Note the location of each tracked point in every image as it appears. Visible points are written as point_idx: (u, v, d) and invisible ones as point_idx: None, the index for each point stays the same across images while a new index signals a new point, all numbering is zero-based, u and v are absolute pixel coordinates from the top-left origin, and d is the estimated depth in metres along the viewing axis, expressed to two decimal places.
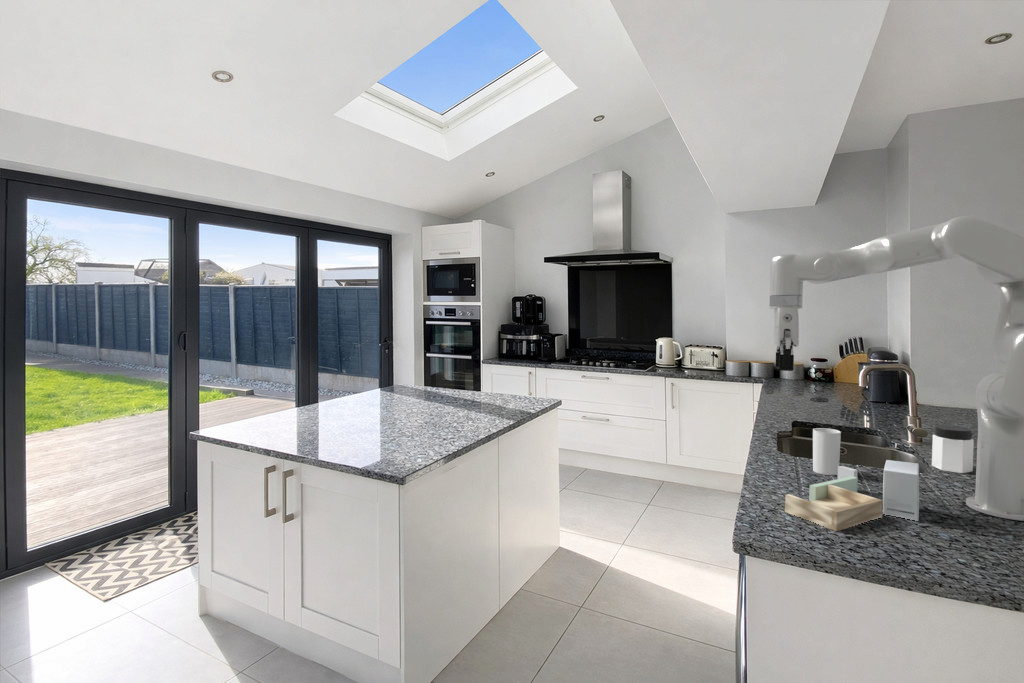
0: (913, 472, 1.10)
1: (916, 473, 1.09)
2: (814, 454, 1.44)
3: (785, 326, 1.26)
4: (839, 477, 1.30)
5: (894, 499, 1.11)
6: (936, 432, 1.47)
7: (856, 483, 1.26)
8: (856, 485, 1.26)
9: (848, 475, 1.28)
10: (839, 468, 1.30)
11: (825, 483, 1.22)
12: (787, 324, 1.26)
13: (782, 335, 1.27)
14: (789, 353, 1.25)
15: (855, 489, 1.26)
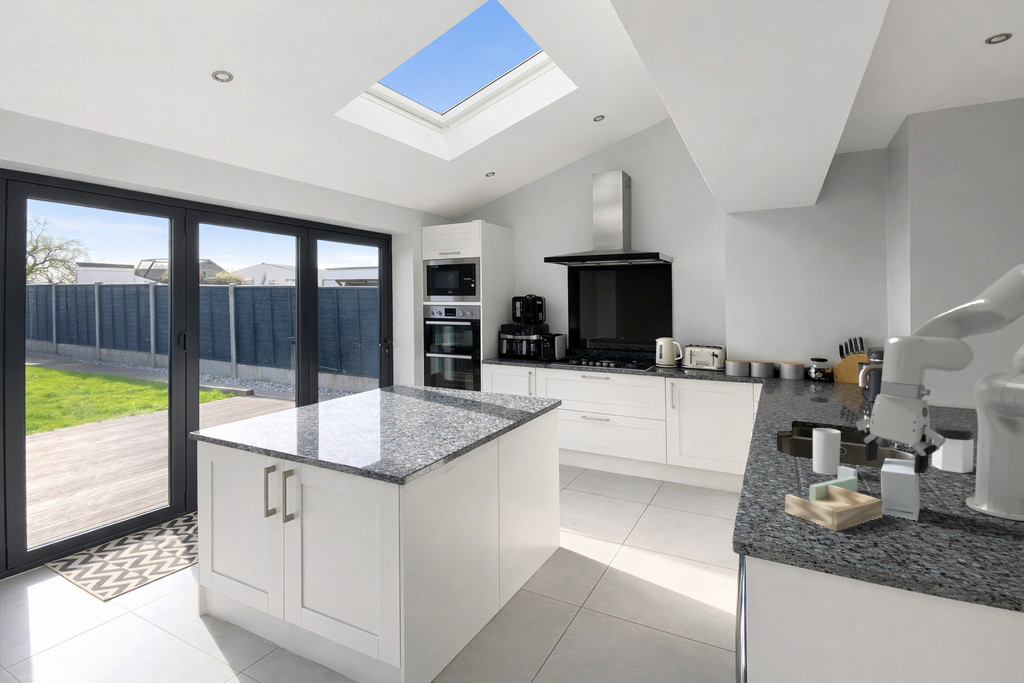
0: (910, 472, 1.09)
1: (913, 473, 1.09)
2: (814, 454, 1.44)
3: (923, 422, 1.09)
4: (839, 477, 1.30)
5: (893, 499, 1.11)
6: (936, 432, 1.47)
7: (856, 483, 1.26)
8: (856, 485, 1.26)
9: (848, 475, 1.28)
10: (839, 468, 1.30)
11: (825, 483, 1.22)
12: (925, 419, 1.09)
13: (921, 432, 1.09)
14: (930, 454, 1.08)
15: (855, 489, 1.26)
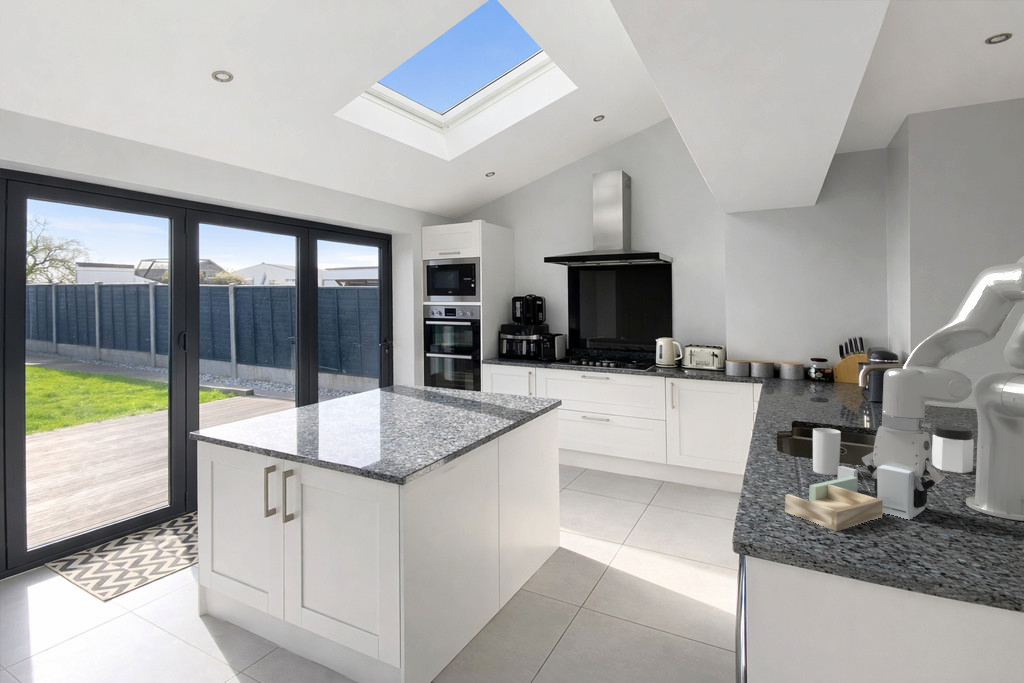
0: (906, 471, 1.10)
1: (908, 472, 1.10)
2: (814, 454, 1.44)
3: (926, 455, 1.09)
4: (839, 477, 1.30)
5: (887, 496, 1.12)
6: (936, 432, 1.47)
7: (856, 483, 1.26)
8: (856, 485, 1.26)
9: (848, 475, 1.28)
10: (839, 468, 1.30)
11: (825, 483, 1.22)
12: (927, 452, 1.09)
13: (924, 466, 1.09)
14: None
15: (855, 489, 1.26)
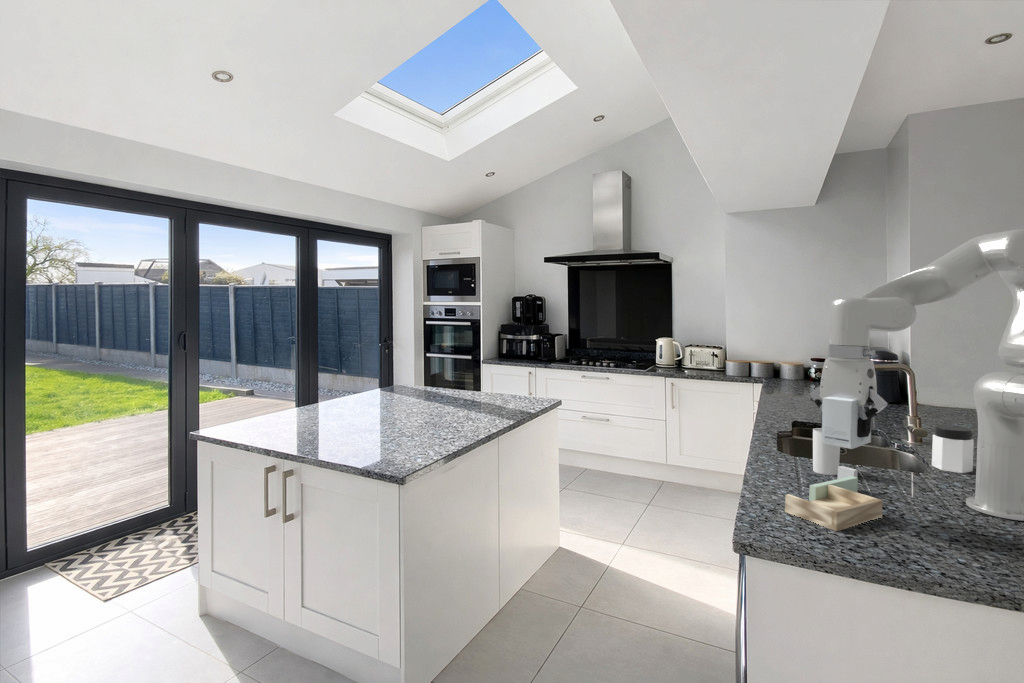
0: (850, 399, 1.08)
1: (852, 400, 1.08)
2: (814, 454, 1.44)
3: (869, 383, 1.07)
4: (839, 477, 1.30)
5: (831, 426, 1.10)
6: (936, 432, 1.47)
7: (856, 483, 1.26)
8: (856, 485, 1.26)
9: (848, 475, 1.28)
10: (839, 468, 1.30)
11: (825, 483, 1.22)
12: (871, 380, 1.08)
13: (867, 394, 1.07)
14: (871, 418, 1.08)
15: (855, 489, 1.26)
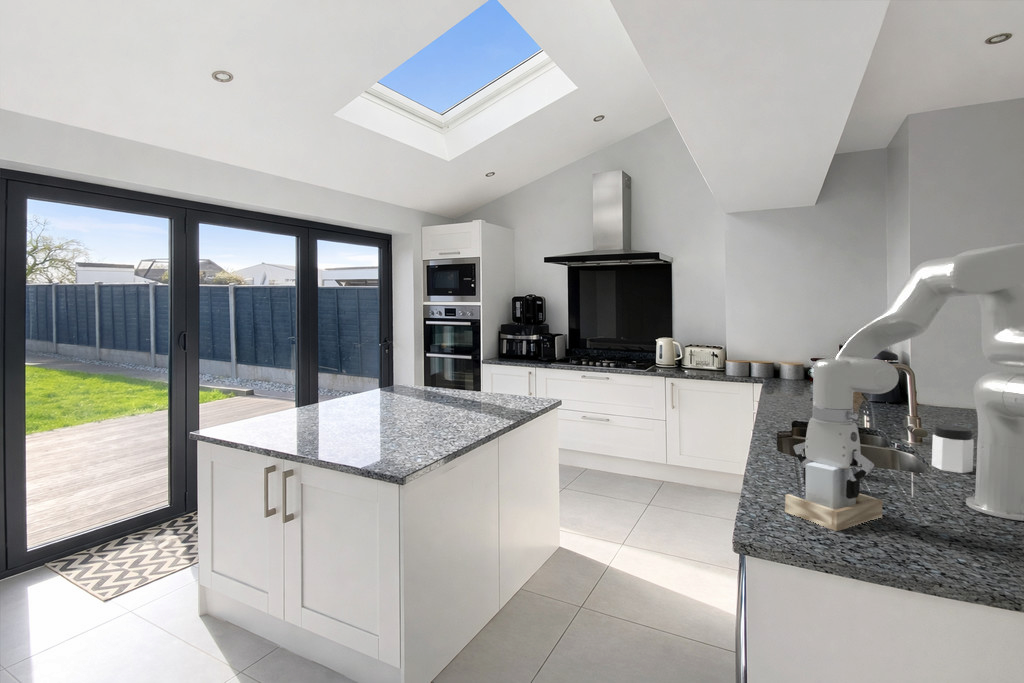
0: (832, 468, 1.09)
1: (834, 469, 1.09)
2: None
3: (853, 447, 1.08)
4: None
5: (814, 493, 1.11)
6: (936, 432, 1.47)
7: None
8: None
9: None
10: None
11: None
12: (854, 444, 1.08)
13: (851, 457, 1.08)
14: (861, 478, 1.07)
15: None
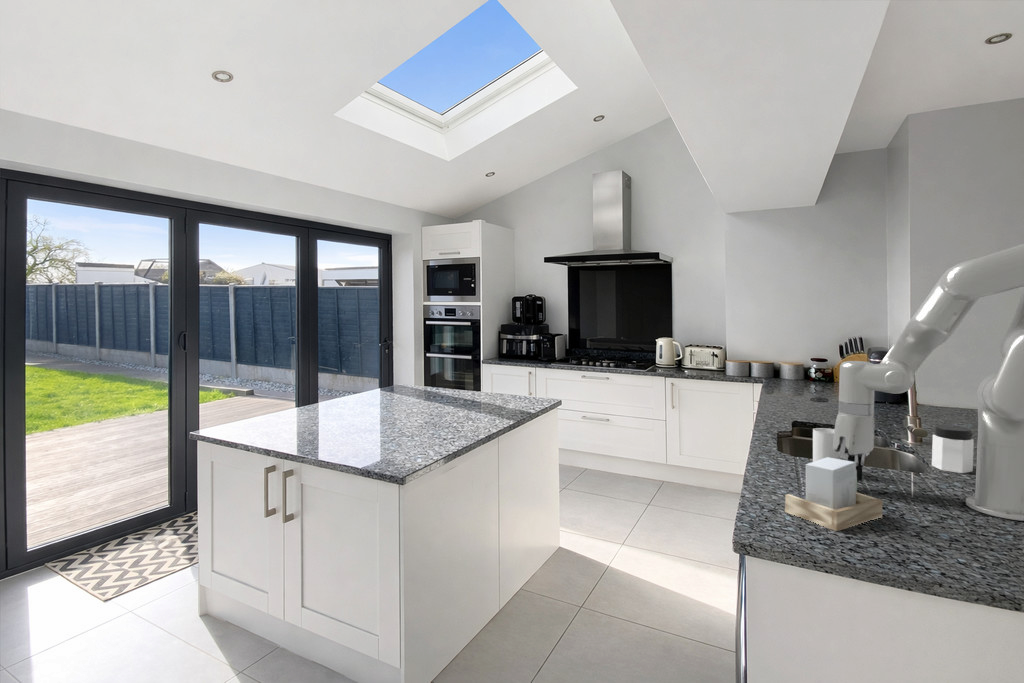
0: (832, 468, 1.09)
1: (834, 469, 1.09)
2: (814, 454, 1.44)
3: None
4: None
5: (814, 493, 1.11)
6: (936, 432, 1.47)
7: None
8: None
9: None
10: None
11: None
12: None
13: None
14: None
15: None
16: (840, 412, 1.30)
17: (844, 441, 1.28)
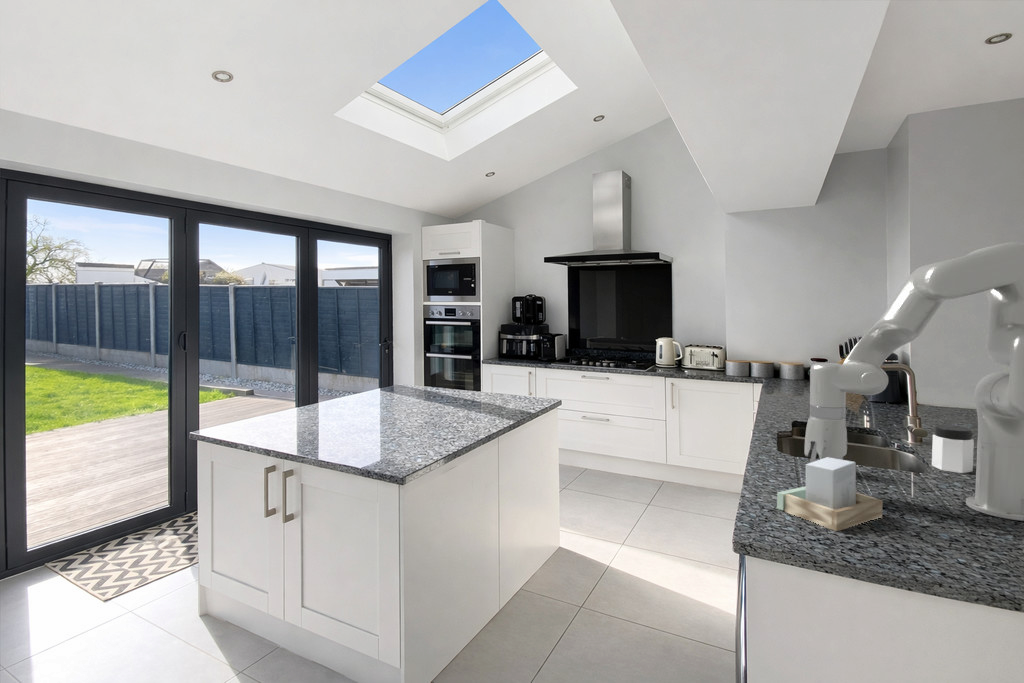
0: (832, 468, 1.09)
1: (834, 469, 1.09)
2: None
3: None
4: None
5: (814, 493, 1.11)
6: (936, 432, 1.47)
7: None
8: None
9: None
10: None
11: (794, 490, 1.17)
12: None
13: None
14: None
15: None
16: (811, 416, 1.25)
17: (815, 446, 1.23)
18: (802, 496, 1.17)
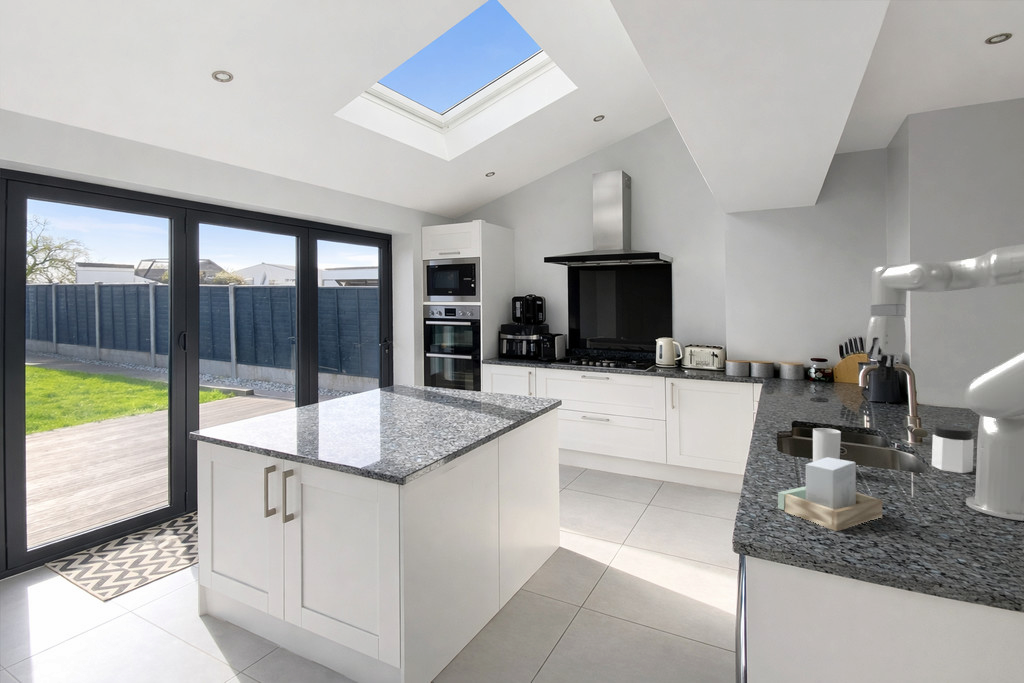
0: (832, 468, 1.09)
1: (834, 469, 1.09)
2: (814, 454, 1.44)
3: None
4: None
5: (814, 493, 1.11)
6: (936, 432, 1.47)
7: None
8: None
9: None
10: None
11: (795, 490, 1.17)
12: None
13: None
14: None
15: None
16: (872, 315, 1.34)
17: (877, 342, 1.32)
18: (803, 496, 1.17)
